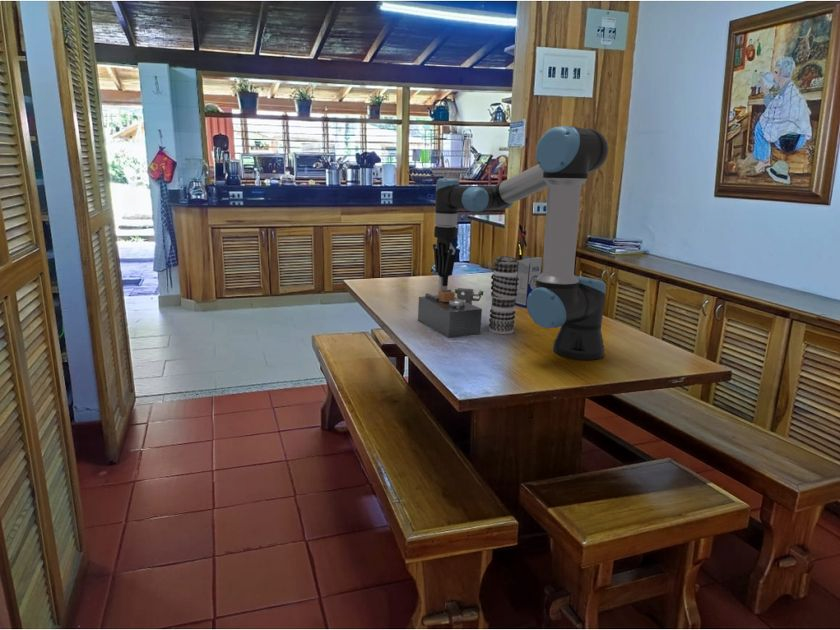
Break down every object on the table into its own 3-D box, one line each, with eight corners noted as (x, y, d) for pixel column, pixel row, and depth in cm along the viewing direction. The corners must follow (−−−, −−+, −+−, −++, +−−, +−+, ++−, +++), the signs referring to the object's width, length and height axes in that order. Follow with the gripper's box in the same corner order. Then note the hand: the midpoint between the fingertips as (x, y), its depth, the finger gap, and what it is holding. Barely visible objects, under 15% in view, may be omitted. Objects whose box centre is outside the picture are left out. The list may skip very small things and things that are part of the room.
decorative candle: (484, 332, 195) (489, 258, 189) (491, 325, 203) (496, 254, 197) (511, 335, 192) (517, 260, 185) (517, 328, 200) (523, 256, 194)
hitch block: (480, 333, 193) (482, 306, 190) (448, 337, 187) (450, 309, 185) (447, 317, 212) (448, 291, 209) (417, 320, 206) (418, 294, 204)
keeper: (454, 301, 198) (454, 291, 197) (443, 302, 196) (444, 291, 196) (448, 298, 202) (448, 288, 201) (438, 299, 200) (438, 289, 199)
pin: (466, 331, 194) (467, 302, 192) (452, 332, 192) (454, 303, 189) (458, 327, 199) (459, 298, 196) (444, 328, 196) (446, 299, 194)
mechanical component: (481, 318, 212) (482, 291, 209) (453, 315, 214) (454, 289, 211) (482, 316, 215) (483, 289, 212) (454, 313, 217) (455, 287, 214)
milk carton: (526, 308, 229) (531, 258, 224) (513, 304, 234) (517, 255, 229) (537, 306, 233) (542, 256, 228) (524, 302, 238) (528, 254, 233)
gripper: (465, 227, 191) (461, 297, 197) (446, 223, 202) (442, 290, 208) (445, 228, 188) (442, 299, 194) (426, 223, 199) (424, 291, 205)
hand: (442, 294), depth 201 cm, fingers closed
